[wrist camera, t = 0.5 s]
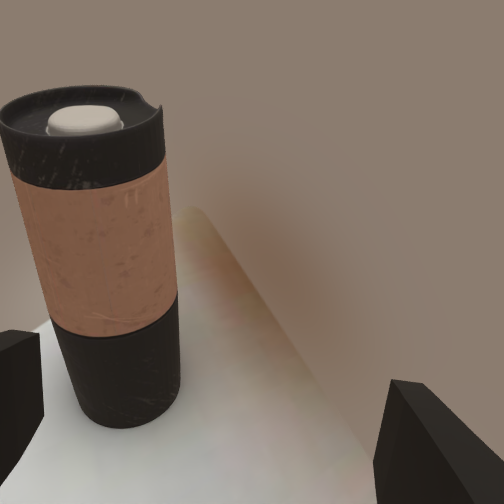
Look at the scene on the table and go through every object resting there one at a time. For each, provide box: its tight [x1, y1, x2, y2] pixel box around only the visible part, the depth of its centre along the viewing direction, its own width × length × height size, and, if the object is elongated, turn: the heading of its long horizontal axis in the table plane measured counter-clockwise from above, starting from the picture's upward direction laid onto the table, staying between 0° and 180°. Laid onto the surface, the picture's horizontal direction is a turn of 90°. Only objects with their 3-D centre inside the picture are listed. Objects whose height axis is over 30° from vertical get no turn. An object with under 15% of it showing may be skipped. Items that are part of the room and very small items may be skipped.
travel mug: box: [0, 85, 180, 428], centre depth 28 cm, size 8×8×20 cm
